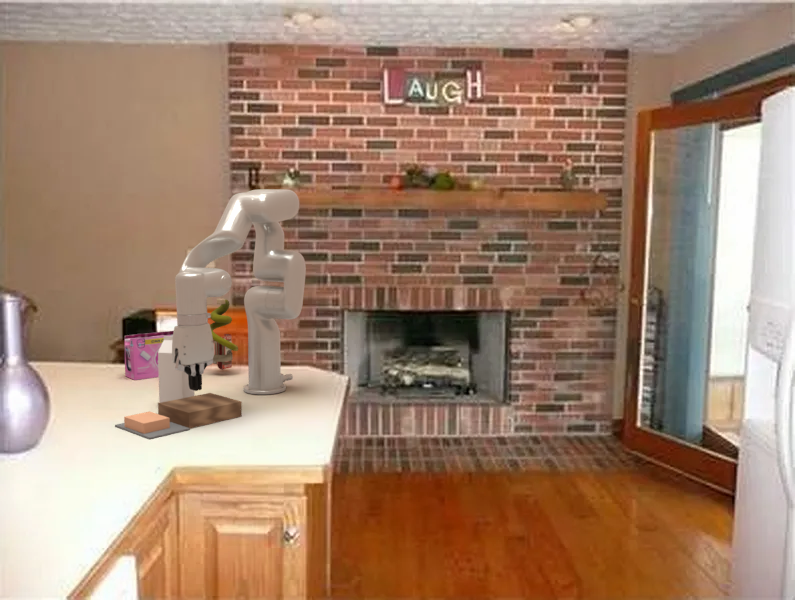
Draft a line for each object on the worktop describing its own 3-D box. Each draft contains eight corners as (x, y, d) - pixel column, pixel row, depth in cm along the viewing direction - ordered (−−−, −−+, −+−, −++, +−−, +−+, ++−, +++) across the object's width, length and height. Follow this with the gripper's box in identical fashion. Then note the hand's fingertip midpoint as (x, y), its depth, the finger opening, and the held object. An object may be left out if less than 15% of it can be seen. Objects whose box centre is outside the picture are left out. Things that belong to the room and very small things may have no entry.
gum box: (130, 381, 242) (129, 338, 241) (120, 377, 248) (119, 335, 246) (199, 371, 258) (199, 331, 256) (189, 367, 264) (188, 328, 262)
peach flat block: (124, 416, 189) (124, 426, 190) (143, 423, 184) (144, 433, 184) (149, 411, 195) (149, 421, 195) (169, 417, 189) (169, 427, 189)
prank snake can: (237, 376, 250) (236, 300, 247) (205, 377, 249) (204, 300, 246) (240, 369, 261) (239, 296, 258) (210, 370, 260) (209, 296, 257)
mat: (154, 417, 199) (154, 416, 199) (189, 429, 189) (189, 428, 189) (115, 426, 191) (114, 424, 191) (149, 439, 181) (149, 437, 181)
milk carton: (182, 407, 210) (181, 339, 208) (159, 405, 212) (157, 337, 210) (194, 401, 217) (193, 335, 215) (171, 399, 219) (170, 334, 217)
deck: (210, 407, 211) (210, 392, 211) (241, 416, 202) (241, 401, 201) (158, 418, 199) (158, 403, 199) (189, 428, 190) (188, 412, 189)
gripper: (208, 314, 204) (211, 381, 207) (158, 322, 193) (162, 392, 196) (225, 317, 199) (228, 386, 202) (175, 325, 188) (178, 398, 191)
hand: (195, 389), depth 199 cm, fingers closed
